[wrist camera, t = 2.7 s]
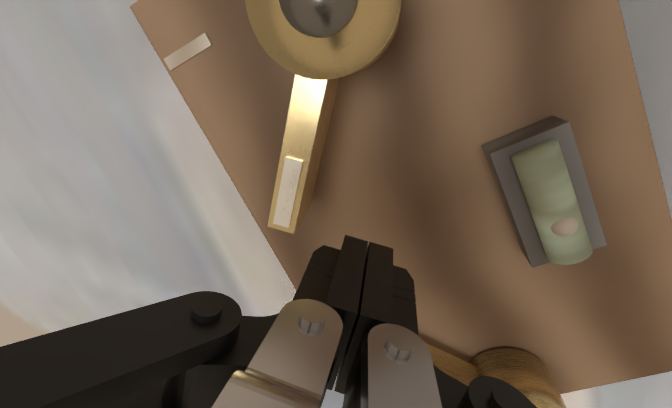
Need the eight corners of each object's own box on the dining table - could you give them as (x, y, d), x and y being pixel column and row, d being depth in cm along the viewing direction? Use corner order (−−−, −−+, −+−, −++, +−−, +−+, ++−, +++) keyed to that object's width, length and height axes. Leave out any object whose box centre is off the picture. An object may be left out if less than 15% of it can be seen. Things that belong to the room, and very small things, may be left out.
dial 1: (298, -67, 16) (249, -129, 10) (416, -39, 15) (424, -87, 10) (257, 185, 20) (208, 229, 15) (347, 211, 20) (329, 265, 15)
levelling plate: (532, -258, 14) (593, -402, 9) (686, 344, 21) (759, 417, 17) (148, 10, 19) (76, -3, 15) (380, 412, 27) (377, 479, 23)
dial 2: (569, 371, 21) (624, 472, 16) (518, 424, 23) (552, 529, 18) (386, 286, 21) (382, 361, 16) (349, 347, 23) (336, 431, 18)
